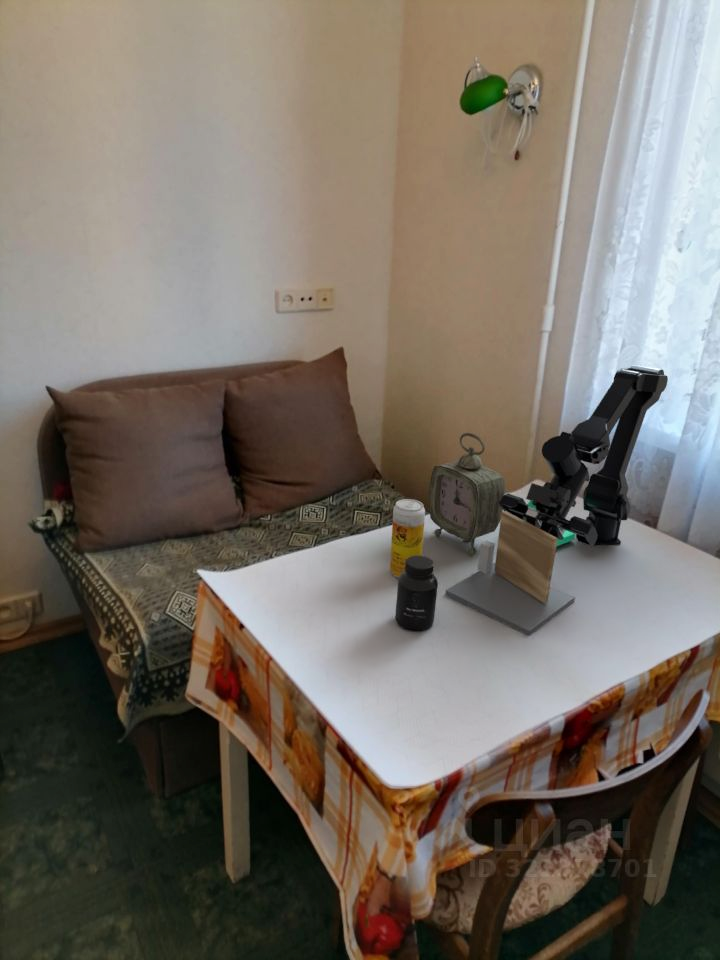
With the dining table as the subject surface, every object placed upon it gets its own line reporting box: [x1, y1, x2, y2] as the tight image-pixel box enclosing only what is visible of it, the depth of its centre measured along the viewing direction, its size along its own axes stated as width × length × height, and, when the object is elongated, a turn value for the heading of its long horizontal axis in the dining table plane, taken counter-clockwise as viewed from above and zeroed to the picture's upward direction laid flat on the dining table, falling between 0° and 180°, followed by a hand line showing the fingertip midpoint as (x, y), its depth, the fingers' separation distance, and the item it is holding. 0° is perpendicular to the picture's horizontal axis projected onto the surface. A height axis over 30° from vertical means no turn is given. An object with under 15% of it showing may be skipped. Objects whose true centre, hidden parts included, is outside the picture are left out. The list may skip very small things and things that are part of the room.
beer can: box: [389, 498, 426, 579], centre depth 130 cm, size 6×6×15 cm
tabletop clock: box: [428, 432, 506, 556], centre depth 142 cm, size 14×9×25 cm, turn 36°
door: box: [494, 510, 558, 603], centre depth 125 cm, size 1×13×13 cm, turn 31°
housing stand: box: [445, 540, 576, 637], centre depth 124 cm, size 16×18×7 cm
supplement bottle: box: [395, 555, 439, 633], centre depth 115 cm, size 7×7×12 cm
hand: (526, 557), depth 125 cm, fingers closed
